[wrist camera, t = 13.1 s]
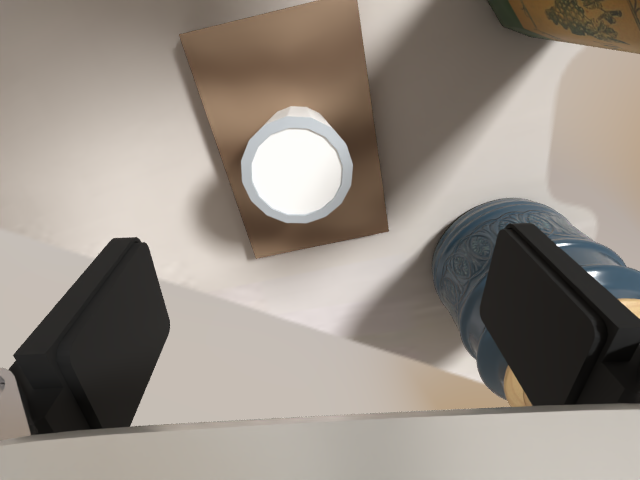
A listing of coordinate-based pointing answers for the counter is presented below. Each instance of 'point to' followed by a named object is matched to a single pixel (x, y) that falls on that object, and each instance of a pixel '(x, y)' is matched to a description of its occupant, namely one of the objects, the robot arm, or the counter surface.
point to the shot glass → (296, 166)
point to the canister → (473, 266)
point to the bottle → (575, 21)
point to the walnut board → (292, 90)
